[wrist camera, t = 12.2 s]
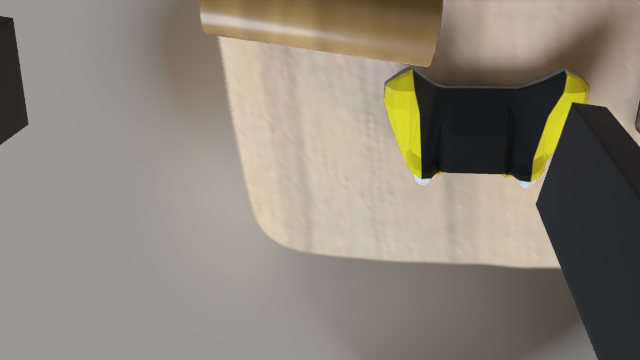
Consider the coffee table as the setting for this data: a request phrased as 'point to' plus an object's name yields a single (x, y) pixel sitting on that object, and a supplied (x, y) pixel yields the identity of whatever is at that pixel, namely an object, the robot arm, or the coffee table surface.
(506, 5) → the coffee table surface
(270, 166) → the coffee table surface
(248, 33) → the chest lid
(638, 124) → the book
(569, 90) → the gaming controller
